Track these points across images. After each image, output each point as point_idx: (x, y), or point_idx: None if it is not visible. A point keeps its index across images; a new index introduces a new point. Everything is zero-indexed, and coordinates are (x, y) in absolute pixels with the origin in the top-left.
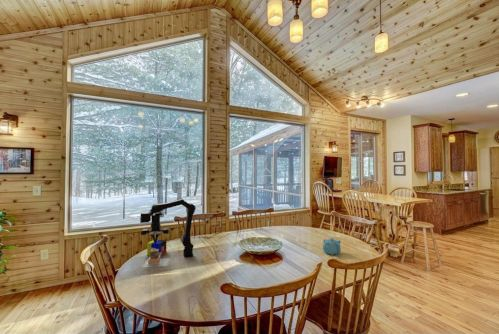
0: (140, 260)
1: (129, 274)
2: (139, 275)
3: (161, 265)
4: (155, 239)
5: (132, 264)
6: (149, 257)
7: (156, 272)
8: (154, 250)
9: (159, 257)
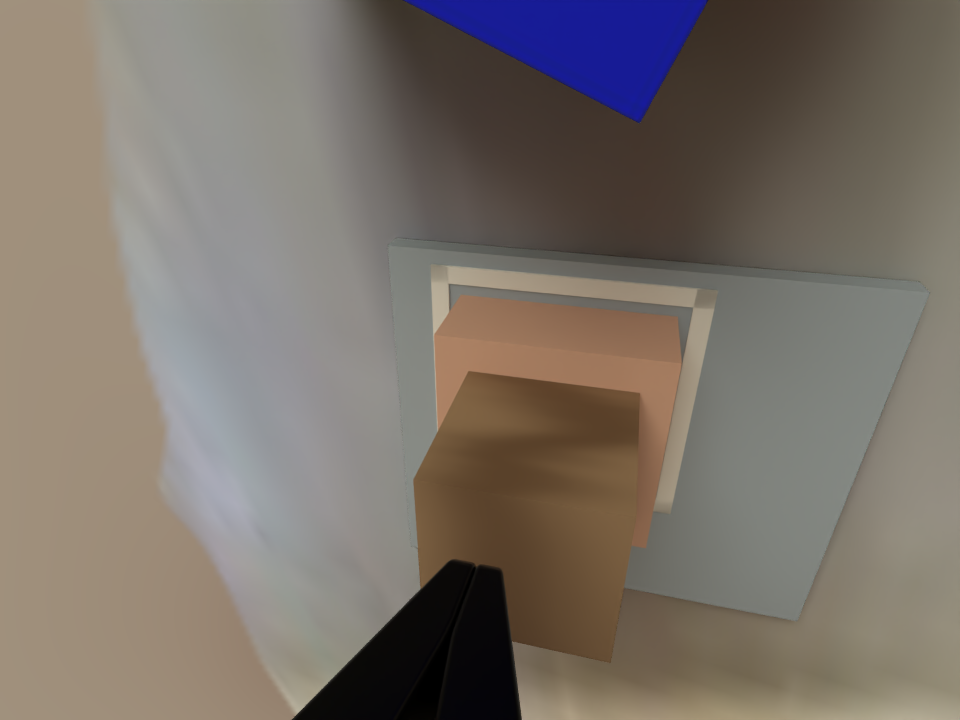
0: (270, 188)
1: (320, 613)
2: None
3: (693, 582)
4: (412, 717)
5: (217, 343)
6: (442, 419)
7: (622, 683)
8: (517, 584)
9: (658, 481)
